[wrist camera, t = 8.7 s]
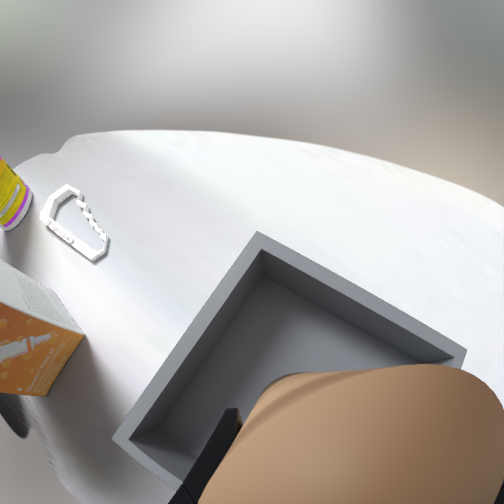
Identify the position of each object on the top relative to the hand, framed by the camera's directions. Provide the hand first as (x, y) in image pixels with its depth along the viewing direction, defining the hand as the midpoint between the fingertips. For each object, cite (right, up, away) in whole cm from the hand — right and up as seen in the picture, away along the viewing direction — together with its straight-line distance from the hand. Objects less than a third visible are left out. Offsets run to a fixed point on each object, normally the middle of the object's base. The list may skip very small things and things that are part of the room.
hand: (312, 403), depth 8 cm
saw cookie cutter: (-20, +8, +16) cm, 27 cm away
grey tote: (+1, -5, +7) cm, 9 cm away
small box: (-20, -3, +10) cm, 23 cm away
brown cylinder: (+1, -4, +5) cm, 7 cm away
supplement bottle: (-33, +11, +17) cm, 38 cm away
